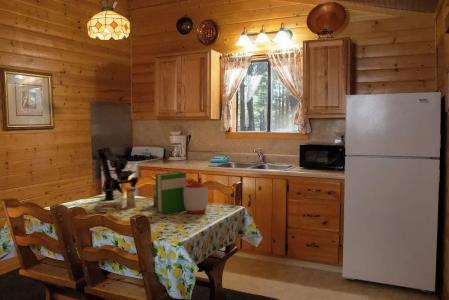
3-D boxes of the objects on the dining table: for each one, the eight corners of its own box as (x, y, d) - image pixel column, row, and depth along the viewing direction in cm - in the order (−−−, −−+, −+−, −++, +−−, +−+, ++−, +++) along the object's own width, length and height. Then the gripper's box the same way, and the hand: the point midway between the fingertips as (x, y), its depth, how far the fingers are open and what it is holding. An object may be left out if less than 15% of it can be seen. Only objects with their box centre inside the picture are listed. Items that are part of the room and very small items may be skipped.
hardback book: (162, 214, 237) (161, 175, 235) (156, 212, 242) (155, 174, 241) (186, 209, 247) (185, 172, 246) (180, 207, 253) (179, 171, 251)
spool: (126, 206, 260) (125, 187, 259) (135, 205, 261) (135, 186, 260) (126, 208, 253) (125, 189, 252) (136, 207, 255) (135, 188, 254)
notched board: (97, 205, 264) (97, 202, 264) (121, 203, 268) (121, 201, 268) (95, 210, 249) (95, 207, 249) (121, 208, 253) (121, 206, 253)
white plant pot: (215, 211, 242) (215, 179, 240) (193, 216, 230) (192, 183, 229) (200, 207, 253) (199, 177, 252) (178, 211, 242) (177, 180, 240)
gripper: (111, 167, 255) (118, 186, 248) (136, 165, 267) (145, 182, 260) (106, 178, 262) (114, 196, 254) (131, 175, 274) (139, 193, 266)
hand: (128, 192), depth 259 cm, fingers open, 9 cm apart
